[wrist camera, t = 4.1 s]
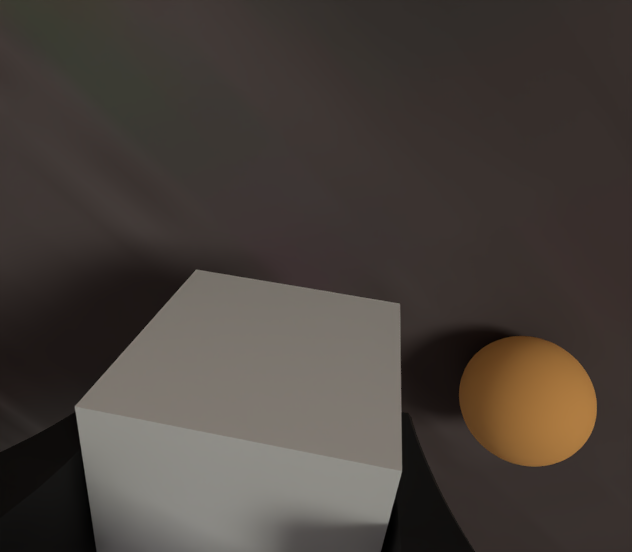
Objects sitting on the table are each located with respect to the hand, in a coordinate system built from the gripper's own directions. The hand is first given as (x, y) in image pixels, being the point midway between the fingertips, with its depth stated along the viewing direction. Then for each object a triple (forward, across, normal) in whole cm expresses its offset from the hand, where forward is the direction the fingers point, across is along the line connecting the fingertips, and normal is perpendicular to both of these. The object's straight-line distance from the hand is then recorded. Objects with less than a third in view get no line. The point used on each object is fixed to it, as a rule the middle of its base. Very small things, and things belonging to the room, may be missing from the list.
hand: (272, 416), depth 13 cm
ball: (+6, -9, +2) cm, 11 cm away
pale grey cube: (+2, 0, 0) cm, 2 cm away
